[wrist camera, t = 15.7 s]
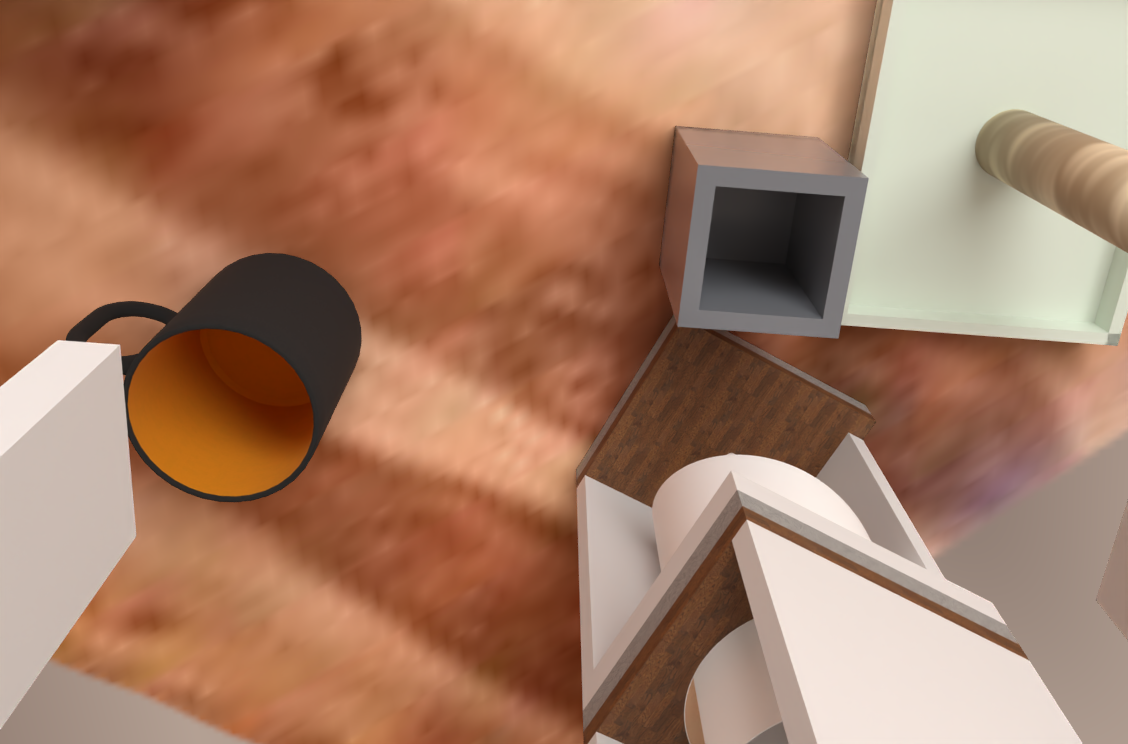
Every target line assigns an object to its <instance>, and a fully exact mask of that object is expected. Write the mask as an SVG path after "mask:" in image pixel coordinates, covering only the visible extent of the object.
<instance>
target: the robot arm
mask: <svg viewBox="0 0 1128 744" xmlns="http://www.w3.org/2000/svg"><path fill="white" fill-rule="evenodd" d="M135 537H136V526H135V514H134V502H133V490H132V479H131V467H130V455H129V443H128V431H127V419H126V407H125V396H124V384H123V372H122V360H121V348H120V345H117V344H103V343H90V342H76V341H62V340H57V341H56V342H55V343H54V344H53V345H51V346H50V347H49V348H48V349H46V350H45V351H44V352H43V353H41V354H40V355H39V356H38V357H37V358H35V359H34V360H33V361H32V362H30V363H29V364H28V365H27V366H25V367H24V368H23V369H22V370H21V371H19V372H18V373H17V374H16V375H14V376H13V377H12V378H11V379H9V380H8V381H7V382H6V383H4V384H3V385H2V386H1V387H0V729H1V728H2V726H3V725H4V724H5V722H6V721H7V719H8V718H9V716H10V715H11V714H12V712H13V711H14V710H15V708H16V707H17V705H18V704H19V702H20V701H21V700H22V698H23V697H24V695H25V694H26V692H27V691H28V690H29V688H30V687H31V685H32V684H33V682H34V681H35V680H36V678H37V677H38V675H39V674H40V673H41V671H42V670H43V668H44V667H45V665H46V664H47V663H48V661H49V660H50V658H51V657H52V655H53V654H54V653H55V651H56V650H57V648H58V647H59V645H60V644H61V643H62V641H63V640H64V638H65V637H66V636H67V634H68V633H69V631H70V630H71V628H72V627H73V626H74V624H75V623H76V621H77V620H78V618H79V617H80V616H81V614H82V613H83V611H84V610H85V608H86V607H87V606H88V604H89V603H90V601H91V600H92V599H93V597H94V596H95V594H96V593H97V591H98V590H99V589H100V587H101V586H102V584H103V583H104V581H105V580H106V579H107V577H108V576H109V574H110V573H111V571H112V570H113V569H114V567H115V566H116V564H117V563H118V562H119V560H120V559H121V557H122V556H123V554H124V553H125V552H126V550H127V549H128V547H129V546H130V544H131V543H132V542H133V540H134V539H135ZM1096 601H1097V602H1098V604H1099V605H1100V606H1101V607H1102V609H1103V610H1104V611H1105V612H1106V614H1107V615H1108V616H1109V617H1110V619H1111V620H1112V621H1113V622H1114V624H1115V625H1116V626H1117V627H1118V629H1119V630H1120V631H1121V632H1122V634H1123V635H1124V636H1125V637H1126V639H1127V640H1128V501H1127V504H1126V508H1125V510H1124V514H1123V517H1122V520H1121V523H1120V526H1119V529H1118V532H1117V535H1116V539H1115V542H1114V545H1113V548H1112V551H1111V554H1110V558H1109V560H1108V564H1107V567H1106V570H1105V573H1104V576H1103V579H1102V583H1101V586H1100V589H1099V592H1098V595H1097V598H1096Z"/></svg>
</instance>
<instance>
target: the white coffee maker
mask: <svg viewBox="0 0 1128 744" xmlns="http://www.w3.org/2000/svg"><path fill="white" fill-rule="evenodd" d="M875 423H876V421H875V419H874V418H873V416H872V415H871V413H870V412H869V410H868V409H867V407H866V405H864V404H862V403H860V402H858V401H856V400H855V399H853V398H851V397H849V396H847V395H845V394H843V393H842V392H840V391H838V390H836V389H834V388H832V387H830V386H828V385H827V384H825V383H823V382H821V381H819V380H817V379H815V378H814V377H812V376H810V375H808V374H806V373H804V372H802V371H800V370H799V369H797V368H795V367H793V366H791V365H789V364H787V363H786V362H784V361H782V360H780V359H778V358H776V357H774V356H772V355H771V354H769V353H767V352H765V351H763V350H761V349H759V348H758V347H756V346H754V345H752V344H750V343H748V342H746V341H744V340H743V339H741V338H739V337H737V336H735V335H733V334H731V333H730V332H728V331H726V330H717V329H703V328H690V327H677V323H676V320H675V317H674V315H673V316H672V318H671V319H670V321H669V322H668V324H667V326H666V327H665V329H664V330H663V332H662V334H661V335H660V337H659V338H658V340H657V342H656V343H655V345H654V346H653V348H652V350H651V351H650V353H649V354H648V356H647V358H646V359H645V361H644V362H643V364H642V366H641V367H640V369H639V370H638V372H637V374H636V375H635V377H634V378H633V380H632V382H631V383H630V385H629V386H628V388H627V390H626V391H625V393H624V394H623V396H622V398H621V399H620V401H619V402H618V404H617V406H616V407H615V409H614V410H613V412H612V413H611V415H610V417H609V418H608V420H607V421H606V423H605V425H604V426H603V428H602V429H601V431H600V433H599V434H598V436H597V437H596V439H595V441H594V442H593V444H592V445H591V447H590V449H589V450H588V452H587V453H586V455H585V457H584V458H583V460H582V461H581V463H580V465H579V466H578V468H577V469H576V482H577V518H578V554H579V590H580V626H581V662H582V698H583V734H584V744H1083V743H1082V742H1081V740H1080V739H1079V738H1078V736H1077V734H1076V733H1075V731H1074V730H1073V728H1072V726H1071V725H1070V723H1069V722H1068V720H1067V719H1066V717H1065V715H1064V714H1063V712H1062V711H1061V709H1060V708H1059V706H1058V705H1057V703H1056V701H1055V700H1054V698H1053V697H1052V695H1051V694H1050V692H1049V690H1048V689H1047V687H1046V686H1045V684H1044V683H1043V681H1042V680H1041V678H1040V676H1039V675H1038V674H1037V672H1036V670H1035V669H1034V667H1033V666H1032V664H1031V663H1030V661H1029V659H1028V658H1027V656H1026V655H1025V653H1024V652H1023V650H1022V649H1021V647H1020V645H1019V644H1018V642H1017V641H1016V639H1015V638H1014V636H1013V634H1012V633H1011V631H1010V630H1009V628H1008V627H1007V625H1006V623H1005V622H1004V620H1003V619H1002V617H1001V616H1000V615H999V613H998V611H997V610H996V608H995V606H994V605H993V603H992V602H990V601H988V600H986V599H984V598H982V597H980V596H978V595H976V594H974V593H972V592H970V591H968V590H966V589H964V588H962V587H960V586H958V585H956V584H954V583H952V582H950V581H948V580H946V579H945V578H944V576H943V574H942V573H941V571H940V569H939V568H938V566H937V564H936V563H935V561H934V559H933V558H932V556H931V554H930V552H929V551H928V549H927V547H926V546H925V544H924V542H923V541H922V539H921V537H920V536H919V534H918V532H917V531H916V529H915V527H914V525H913V524H912V522H911V520H910V519H909V517H908V515H907V514H906V512H905V510H904V509H903V507H902V505H901V504H900V502H899V500H898V499H897V497H896V495H895V493H894V492H893V490H892V488H891V487H890V485H889V483H888V482H887V480H886V478H885V477H884V475H883V473H882V472H881V470H880V468H879V466H878V465H877V463H876V461H875V460H874V458H873V456H872V455H871V453H870V451H869V450H868V448H867V446H866V445H865V443H864V441H863V439H864V438H865V436H866V435H867V434H868V432H869V431H870V430H871V428H872V427H873V426H874V424H875Z"/></svg>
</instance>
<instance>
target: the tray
mask: <svg viewBox="0 0 1128 744" xmlns="http://www.w3.org/2000/svg"><path fill="white" fill-rule="evenodd" d="M1011 109H1020V110H1024V111H1028V112H1030V113H1033V114H1035V115H1038V116H1040V117H1043V118H1046V119H1048V120H1051V121H1053V122H1056V123H1059V124H1061V125H1064V126H1066V127H1069V128H1072V129H1074V130H1077V131H1079V132H1082V133H1084V134H1087V135H1090V136H1092V137H1095V138H1097V139H1100V140H1103V141H1105V142H1108V143H1110V144H1113V145H1116V146H1118V147H1121V148H1123V149H1126V150H1128V0H877V3H876V8H875V14H874V19H873V25H872V30H871V36H870V41H869V47H868V52H867V58H866V63H865V69H864V74H863V80H862V85H861V91H860V96H859V102H858V107H857V113H856V118H855V124H854V129H853V135H852V141H851V146H850V152H849V157H848V162H849V163H851V164H852V165H853V166H854V167H856V168H857V169H858V170H859V171H861V172H862V173H863V174H864V175H866V176H867V177H868V178H869V180H868V185H867V190H866V196H865V201H864V206H863V212H862V217H861V222H860V227H859V233H858V238H857V243H856V248H855V254H854V259H853V264H852V269H851V275H850V280H849V285H848V291H847V296H846V301H845V306H844V312H843V317H842V322H841V325H847V326H860V327H873V328H887V329H900V330H914V331H927V332H940V333H954V334H967V335H980V336H994V337H1007V338H1020V339H1034V340H1047V341H1061V342H1074V343H1087V344H1101V345H1114V346H1117V345H1118V342H1119V339H1120V335H1121V332H1122V329H1123V325H1124V322H1125V318H1126V315H1127V312H1128V253H1127V252H1125V251H1123V250H1122V249H1120V248H1118V247H1116V246H1114V245H1113V244H1111V243H1109V242H1107V241H1106V240H1104V239H1102V238H1100V237H1099V236H1097V235H1095V234H1093V233H1092V232H1090V231H1088V230H1086V229H1085V228H1083V227H1081V226H1079V225H1077V224H1076V223H1074V222H1072V221H1070V220H1069V219H1067V218H1065V217H1063V216H1062V215H1060V214H1058V213H1056V212H1055V211H1053V210H1051V209H1049V208H1048V207H1046V206H1044V205H1042V204H1040V203H1039V202H1037V201H1035V200H1033V199H1032V198H1030V197H1028V196H1026V195H1025V194H1023V193H1021V192H1019V191H1018V190H1016V189H1014V188H1012V187H1011V186H1009V185H1007V184H1005V183H1003V182H1002V181H1000V180H998V179H996V178H995V177H993V176H991V175H989V174H988V173H986V172H985V171H984V170H983V169H982V168H981V166H980V165H979V163H978V161H977V158H976V153H975V145H976V140H977V137H978V134H979V132H980V130H981V129H982V127H983V126H984V124H985V123H986V122H987V121H988V120H989V119H991V118H992V117H993V116H995V115H996V114H998V113H1000V112H1003V111H1006V110H1011Z"/></svg>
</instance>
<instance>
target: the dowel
mask: <svg viewBox="0 0 1128 744" xmlns="http://www.w3.org/2000/svg"><path fill="white" fill-rule="evenodd" d="M975 153H976V158H977V161H978V163H979V165H980V166H981V168H982V169H983V170H984V171H985V172H986V173H988V174H989V175H991V176H993V177H995V178H996V179H998V180H1000V181H1002V182H1003V183H1005V184H1007V185H1009V186H1011V187H1012V188H1014V189H1016V190H1018V191H1019V192H1021V193H1023V194H1025V195H1026V196H1028V197H1030V198H1032V199H1033V200H1035V201H1037V202H1039V203H1040V204H1042V205H1044V206H1046V207H1048V208H1049V209H1051V210H1053V211H1055V212H1056V213H1058V214H1060V215H1062V216H1063V217H1065V218H1067V219H1069V220H1070V221H1072V222H1074V223H1076V224H1077V225H1079V226H1081V227H1083V228H1085V229H1086V230H1088V231H1090V232H1092V233H1093V234H1095V235H1097V236H1099V237H1100V238H1102V239H1104V240H1106V241H1107V242H1109V243H1111V244H1113V245H1114V246H1116V247H1118V248H1120V249H1122V250H1123V251H1125V252H1127V253H1128V150H1126V149H1123V148H1121V147H1118V146H1116V145H1113V144H1110V143H1108V142H1105V141H1103V140H1100V139H1097V138H1095V137H1092V136H1090V135H1087V134H1084V133H1082V132H1079V131H1077V130H1074V129H1072V128H1069V127H1066V126H1064V125H1061V124H1059V123H1056V122H1053V121H1051V120H1048V119H1046V118H1043V117H1040V116H1038V115H1035V114H1033V113H1030V112H1028V111H1024V110H1020V109H1011V110H1006V111H1003V112H1000V113H998V114H996V115H995V116H993V117H992V118H991V119H989V120H988V121H987V122H986V123H985V124H984V126H983V127H982V129H981V130H980V132H979V134H978V137H977V140H976V145H975Z"/></svg>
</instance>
